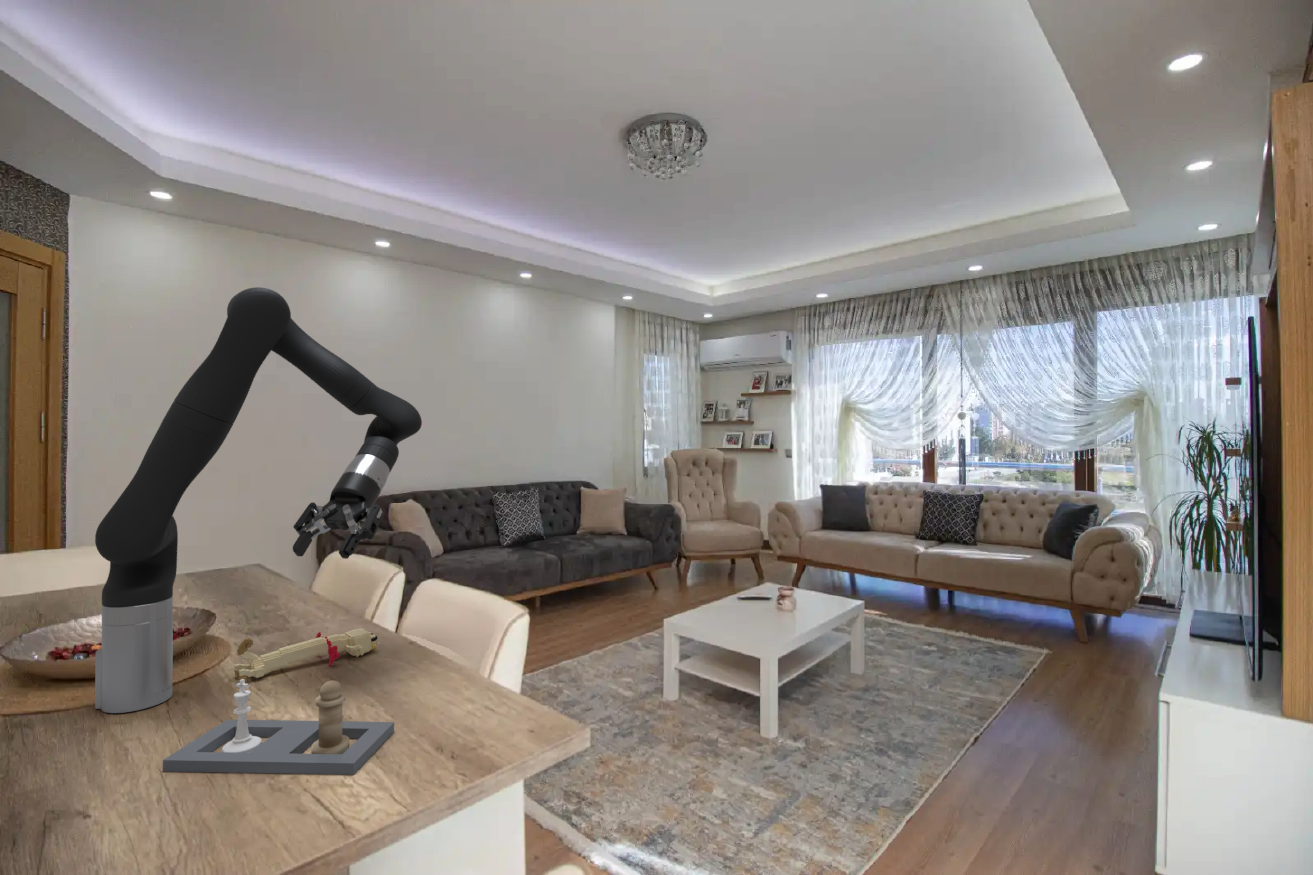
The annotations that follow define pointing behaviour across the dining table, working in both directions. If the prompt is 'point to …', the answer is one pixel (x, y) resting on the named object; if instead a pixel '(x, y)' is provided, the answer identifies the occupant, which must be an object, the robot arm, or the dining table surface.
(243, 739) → the chess piece
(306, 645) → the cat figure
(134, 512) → the robot arm
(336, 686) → the pawn
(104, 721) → the dining table surface
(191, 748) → the grey chess piece holder
